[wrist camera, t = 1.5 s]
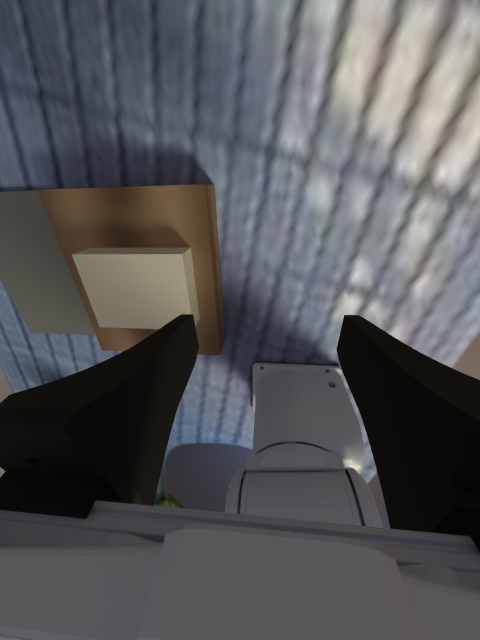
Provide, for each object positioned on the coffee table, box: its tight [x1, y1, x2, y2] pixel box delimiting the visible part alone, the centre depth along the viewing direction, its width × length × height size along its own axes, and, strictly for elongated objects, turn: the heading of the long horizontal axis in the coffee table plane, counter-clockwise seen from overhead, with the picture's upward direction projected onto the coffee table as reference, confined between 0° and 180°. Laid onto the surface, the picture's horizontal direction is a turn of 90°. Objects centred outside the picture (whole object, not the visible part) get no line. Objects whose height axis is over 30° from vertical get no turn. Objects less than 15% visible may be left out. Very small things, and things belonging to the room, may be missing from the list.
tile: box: [72, 248, 200, 329], centre depth 18 cm, size 8×6×2 cm
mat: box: [0, 190, 96, 335], centre depth 22 cm, size 10×14×1 cm
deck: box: [38, 184, 225, 355], centre depth 20 cm, size 12×14×3 cm
